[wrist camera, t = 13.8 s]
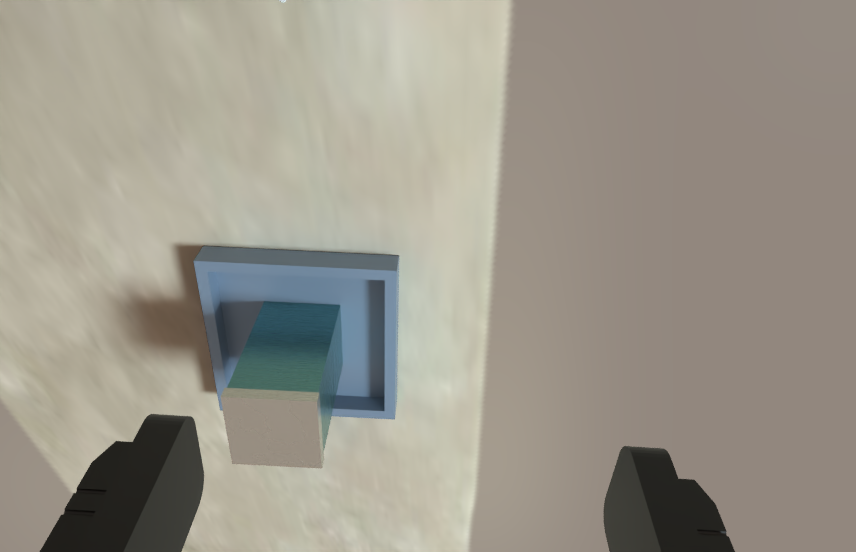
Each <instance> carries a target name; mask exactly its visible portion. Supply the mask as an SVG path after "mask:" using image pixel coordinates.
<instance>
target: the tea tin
mask: <svg viewBox="0 0 856 552" xmlns="http://www.w3.org/2000/svg"><path fill="white" fill-rule="evenodd" d="M342 366H343V353H342V329H341V306H340V305H333V304H313V303H293V302H273V301H264V303H263V305H262V307H261V310H260V312H259V314H258V317H257V319H256V321H255V324H254V326H253V328H252V331H251V333H250V335H249V338H248V340H247V342H246V345H245V347H244V349H243V352H242V354H241V356H240V358H239V361H238V363H237V365H236V368H235V370H234V372H233V375H232V377H231V379H230V382H229V384H228V386H227V388H224V390H223V392H222V395H221V403H222V408H223V414H224V419H225V425H226V431H227V436H228V442H229V447H230V453H231V459H232V464H248V465H267V466H286V467H306V468H322V465H323V461H324V448H325V443H326V439H327V434H328V430H329V425H330V420H331V416H332V411H333V407H334V402H335V398H336V393H337V389H338V384H339V380H340V375H341V371H342Z"/></svg>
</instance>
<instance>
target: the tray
mask: <svg viewBox="0 0 856 552" xmlns="http://www.w3.org/2000/svg"><path fill="white" fill-rule="evenodd" d="M194 267H195V272H196V278H197V283H198V289H199V294H200V300H201V306H202V311H203V317H204V322H205V328H206V333H207V339H208V344H209V350H210V356H211V361H212V367H213V372H214V378H215V383H216V389H217V395H218V400H219V406H220V410H223V408H222V403H221V395H222V392H223V390H224V388H227V386H228V384H229V382H230V379H231V377H232V375H233V372H234V370H235V368H236V365H237V363H238V361H239V358H240V356H241V354H242V352H243V349H244V347H245V345H246V342H247V340H248V338H249V335H250V333H251V331H252V328H253V326H254V324H255V321H256V319H257V317H258V314H259V312H260V310H261V307H262V305H263V303H264V301H273V302H293V303H313V304H333V305H340V306H341V329H342V353H343V366H342V371H341V375H340V380H339V384H338V389H337V393H336V398H335V402H334V407H333V411H332V416H339V417H358V418H378V419H395V413H396V403H397V351H398V288H399V256H395V255H375V254H355V253H335V252H315V251H294V250H274V249H254V248H234V247H214V246H203V247H202V248H201V250H200V252H199V253H198V255H197V256H196V258H195V259H194Z"/></svg>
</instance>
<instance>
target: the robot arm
mask: <svg viewBox="0 0 856 552" xmlns="http://www.w3.org/2000/svg"><path fill="white" fill-rule="evenodd" d="M203 483H204V471H203V465H202V459H201V454H200V448H199V442H198V437H197V431H196V426H195V421H194V419H193V418H192V417H189V416H174V415H159V414H150V415H149V416H147V417H146V419H145V420H144V422H143V424H142V425H141V427H140V429H139V431H138V433H137V435H136V437H135V439H134V440H133V442H121V441H116V442H115V443H114V444H112V445H111V446H110V447H109V448H108V449H107V450H106V451H104V452H103V453H102V454H101V455H100V456H99V457H98V458H96V459H95V460H94V461H93V462H92V463H91V465H90V467H89V468H88V470H87V472H86V473H85V475H84V477H83V479H82V480H81V482H80V484H79V485H78V487H77V492H76V493H74V494H73V496H72V498H71V499H70V501H69V502H68V504H67V506H66V508H65V512H64V514H63V515H61V516H60V518H59V520H58V521H57V523H56V525H55V527H54V528H53V530H52V532H51V533H50V535H49V537H48V538H47V540H46V542H45V544H44V546H43V547H42V549H41V550H40V552H181V551H182V548H183V546H184V543H185V541H186V538H187V535H188V533H189V530H190V528H191V525H192V522H193V520H194V517H195V514H196V512H197V509H198V506H199V504H200V500H201V496H202V491H203ZM604 527H605V533H606V538H607V542H608V546H609V551H610V552H735V551H734V549H733V546H732V544H731V541H730V539H729V537H728V536H726V529H725V527H724V524H723V522H722V519H721V517H720V514H719V512H718V509H717V507H716V505H715V503H714V502H713V501H712V500H711V499H710V497H709V496H708V495H707V494H706V493H705V492H704V490H703V489H702V488H701V487H700V486H699V485H698V483H697V482H696V481H695V480H688V479H678V477H677V474H676V471H675V468H674V466H673V463H672V460H671V458H670V455H669V453H668V452H667V451H666V450H665V449H660V448H645V447H630V446H624V447H623V448H622V449H621V451H620V454H619V457H618V460H617V463H616V466H615V470H614V472H613V476H612V479H611V482H610V485H609V488H608V491H607V494H606V498H605V503H604Z"/></svg>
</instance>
